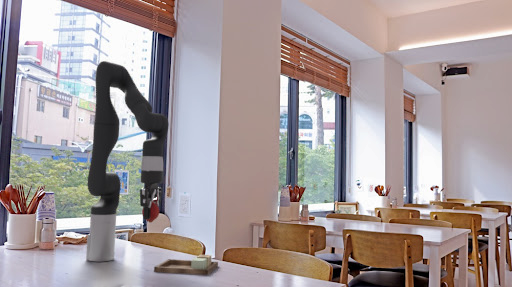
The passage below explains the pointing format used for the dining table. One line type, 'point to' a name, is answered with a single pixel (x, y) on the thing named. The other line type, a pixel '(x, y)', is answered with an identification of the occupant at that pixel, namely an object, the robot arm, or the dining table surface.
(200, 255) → the oak block
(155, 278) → the dining table surface
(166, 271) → the tray
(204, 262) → the sage block
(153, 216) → the onion
